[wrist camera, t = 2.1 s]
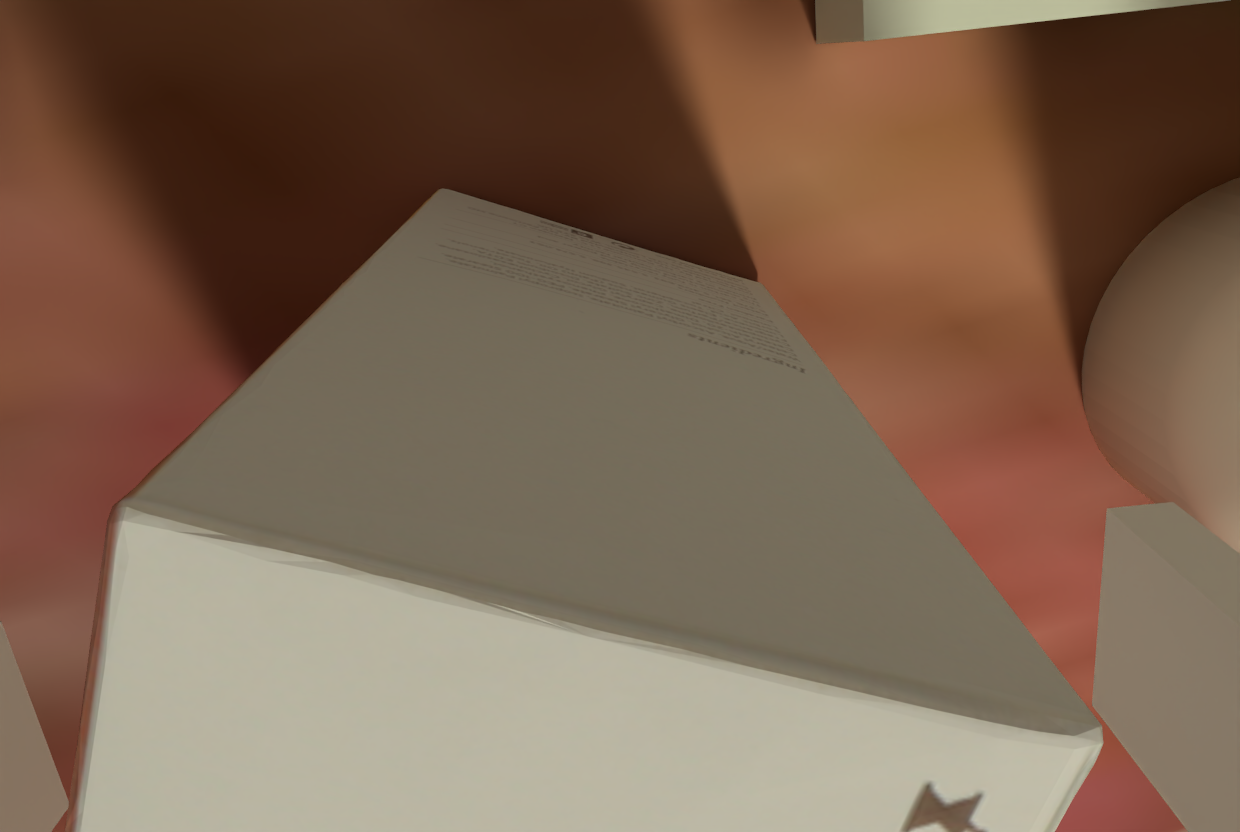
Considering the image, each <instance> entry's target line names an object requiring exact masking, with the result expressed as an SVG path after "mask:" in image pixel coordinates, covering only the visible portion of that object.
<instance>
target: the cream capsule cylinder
mask: <svg viewBox="0 0 1240 832" xmlns="http://www.w3.org/2000/svg"><path fill="white" fill-rule="evenodd" d="M1082 397H1083V403H1084V410H1085V415H1086V418H1087V421H1088V424H1089V428H1090V431H1091V433H1092V435H1093V437H1094V439H1095V441H1096V444H1097V446H1098V448H1099V450H1100V451H1101V452H1102V454H1103V455H1104V457H1105V458H1106V460H1107V461H1108V462H1109V464H1110V465H1111V466H1112V467H1113V468H1114V469H1115V470H1116V471H1117V472H1118V474H1119V475H1120V476H1121V477H1122V478H1123V479H1124V480H1126V481H1127V482H1128V483H1130V484H1131V485H1132V486H1133V487H1135V488H1136V489H1137V490H1139V491H1140V492H1141V493H1142V494H1144V495H1145V496H1146V497H1148V498H1149V499H1150V500H1152V501H1153V502H1154V503H1155V504H1157V503H1167V502H1174V503H1175V504H1176V505H1178V506H1179V507H1180V508H1181V509H1183V510H1184V511H1185V512H1187V513H1188V514H1189V515H1190V516H1192V517H1193V518H1194V519H1196V520H1197V521H1198V522H1199V523H1201V524H1202V525H1203V526H1205V527H1206V528H1207V529H1208V530H1210V531H1211V532H1212V533H1214V534H1215V535H1216V536H1217V537H1219V538H1220V539H1221V540H1223V541H1224V542H1225V543H1227V544H1228V545H1229V546H1230V547H1232V548H1233V549H1234V550H1236V551H1237V552H1238V553H1239V554H1240V177H1239V178H1236V179H1233V180H1231V181H1228V182H1226V183H1224V184H1222V185H1219V186H1217V187H1215V188H1213V189H1210V190H1208V191H1207V192H1205V193H1203V194H1201V195H1200V196H1198V197H1196V198H1195V199H1193V200H1191V201H1189V202H1188V203H1186V204H1185V205H1183V206H1182V207H1181V208H1179V209H1178V210H1176V211H1175V212H1174V213H1172V214H1171V215H1170V216H1168V217H1167V218H1166V219H1164V220H1163V221H1162V222H1161V223H1160V224H1159V225H1158V226H1157V227H1156V228H1155V229H1153V230H1152V231H1151V232H1150V233H1149V234H1148V235H1147V236H1146V237H1145V238H1144V239H1143V240H1142V241H1141V242H1140V243H1139V245H1138V246H1137V247H1136V248H1135V249H1134V250H1133V251H1132V253H1131V254H1130V255H1129V256H1128V257H1127V258H1126V260H1125V261H1124V263H1123V264H1122V266H1121V267H1120V268H1119V270H1118V271H1117V273H1116V274H1115V276H1114V277H1113V278H1112V280H1111V282H1110V284H1109V286H1108V287H1107V289H1106V291H1105V293H1104V295H1103V297H1102V299H1101V300H1100V302H1099V305H1098V307H1097V310H1096V312H1095V315H1094V317H1093V320H1092V322H1091V325H1090V329H1089V333H1088V336H1087V340H1086V344H1085V348H1084V356H1083V363H1082Z"/></svg>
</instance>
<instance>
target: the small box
mask: <svg viewBox="0 0 1240 832" xmlns="http://www.w3.org/2000/svg"><path fill="white" fill-rule="evenodd" d="M1102 745H1103V733H1102V725H1101V724H1100V723H1099V721H1098V720H1097V719H1096V718H1095V716H1094V715H1093V714H1092V712H1091V711H1090V710H1089V709H1088V707H1087V706H1086V705H1085V703H1084V702H1083V701H1082V700H1081V698H1080V697H1079V696H1078V694H1077V693H1076V692H1075V691H1074V689H1073V688H1072V687H1071V685H1070V684H1069V683H1068V682H1067V680H1066V679H1065V678H1064V676H1063V675H1062V674H1061V673H1060V671H1059V670H1058V669H1057V668H1056V666H1055V665H1054V664H1053V662H1052V661H1051V660H1050V659H1049V657H1048V656H1047V655H1046V653H1045V652H1044V651H1043V650H1042V648H1041V647H1040V646H1039V644H1038V643H1037V642H1036V640H1035V639H1034V638H1033V636H1032V635H1031V634H1030V632H1029V631H1028V630H1027V629H1026V627H1025V626H1024V625H1023V623H1022V622H1021V621H1020V619H1019V618H1018V617H1017V615H1016V614H1015V613H1014V612H1013V610H1012V609H1011V608H1010V606H1009V605H1008V604H1007V602H1006V601H1005V600H1004V598H1003V597H1002V596H1001V595H1000V593H999V592H998V591H997V589H996V588H995V587H994V586H993V584H992V583H991V582H990V580H989V579H988V578H987V576H986V575H985V574H984V573H983V571H982V570H981V569H980V567H979V566H978V565H977V563H976V562H975V561H974V560H973V558H972V557H971V556H970V554H969V553H968V552H967V550H966V549H965V548H964V547H963V545H962V544H961V543H960V541H959V540H958V539H957V538H956V536H955V535H954V534H953V532H952V531H951V530H950V528H949V527H948V526H947V525H946V523H945V522H944V521H943V519H942V518H941V517H940V515H939V514H938V513H937V512H936V510H935V509H934V508H933V506H932V505H931V504H930V503H929V501H928V500H927V499H926V497H925V496H924V495H923V493H922V492H921V491H920V489H919V488H918V487H917V486H916V484H915V483H914V482H913V480H912V479H911V478H910V476H909V475H908V474H907V473H906V471H905V470H904V469H903V467H902V466H901V465H900V463H899V462H898V461H897V459H896V458H895V457H894V456H893V454H892V453H891V452H890V450H889V449H888V448H887V446H886V445H885V444H884V442H883V441H882V440H881V439H880V437H879V436H878V435H877V433H876V432H875V431H874V429H873V428H872V427H871V425H870V424H869V423H868V421H867V420H866V419H865V417H864V416H863V415H862V413H861V412H860V411H859V410H858V408H857V407H856V406H855V404H854V403H853V401H852V400H851V399H850V397H849V396H848V395H847V394H846V393H845V391H844V390H843V389H842V387H841V386H840V384H839V383H838V382H837V380H836V379H835V378H834V376H833V375H832V374H831V372H830V371H829V370H828V368H827V367H826V366H825V364H824V363H823V362H822V360H821V359H820V358H819V356H818V355H817V354H816V352H815V351H814V350H813V349H812V347H811V346H810V345H809V343H808V342H807V341H806V340H805V338H804V337H803V336H802V335H801V333H800V332H799V331H798V330H797V328H796V327H795V325H794V324H793V323H792V321H791V320H790V319H789V318H788V317H787V316H786V314H785V313H784V312H783V310H782V309H781V308H780V306H779V305H778V304H777V302H776V301H775V300H774V299H773V297H772V296H771V295H770V293H769V292H768V291H767V290H766V288H765V287H764V285H762V284H761V283H759V282H755V281H752V280H748V279H745V278H741V277H738V276H734V275H730V274H727V273H724V272H721V271H718V270H714V269H710V268H707V267H703V266H700V265H696V264H693V263H690V262H686V261H683V260H680V259H677V258H674V257H671V256H667V255H663V254H660V253H656V252H653V251H649V250H646V249H643V248H639V247H636V246H633V245H630V244H626V243H623V242H620V241H617V240H613V239H610V238H607V237H603V236H600V235H597V234H594V233H590V232H587V231H584V230H580V229H577V228H574V227H571V226H567V225H564V224H561V223H557V222H554V221H551V220H548V219H544V218H541V217H538V216H535V215H532V214H528V213H525V212H522V211H519V210H516V209H512V208H509V207H506V206H502V205H499V204H495V203H492V202H489V201H485V200H482V199H478V198H475V197H472V196H469V195H466V194H462V193H459V192H456V191H453V190H449V189H443V188H442V189H439V190H437V191H436V192H435V193H434V194H433V195H432V196H431V197H430V198H429V199H428V200H427V201H426V202H425V203H423V205H422V206H421V207H420V208H419V209H418V210H417V211H416V212H415V213H414V214H413V215H412V216H411V217H410V218H409V219H408V220H407V221H406V222H405V223H404V224H403V225H402V226H401V227H400V228H399V229H398V230H397V231H396V232H395V233H394V234H393V235H392V236H391V237H390V238H389V239H388V240H387V241H386V242H385V243H384V244H383V245H382V246H381V247H380V248H379V249H378V250H377V251H376V252H375V253H374V254H373V255H372V256H371V257H370V258H369V259H368V260H367V261H366V262H364V263H363V264H362V265H361V266H360V267H359V268H358V269H357V270H356V271H355V272H354V273H353V274H352V275H351V276H350V277H349V278H348V279H347V280H346V281H345V282H343V283H342V284H341V286H340V287H339V288H338V289H337V290H336V291H335V292H334V293H333V294H332V295H331V296H330V297H329V298H328V299H327V300H326V301H325V302H324V303H323V304H322V305H321V306H320V307H319V308H318V309H317V310H316V311H315V312H314V313H313V314H312V315H311V316H310V317H308V318H307V319H306V320H305V321H304V322H303V323H302V324H301V325H300V326H299V327H298V328H297V329H296V330H295V331H294V332H293V333H292V334H291V335H290V336H289V337H288V338H287V339H286V340H285V341H284V342H283V343H282V344H281V345H280V346H279V347H278V348H277V349H276V350H275V351H274V352H273V353H272V354H271V355H270V356H269V357H268V358H267V359H266V360H265V361H264V362H263V363H262V364H261V365H260V366H259V367H258V368H257V369H256V370H255V371H254V372H253V373H252V374H251V375H250V376H249V377H248V378H247V379H246V380H245V381H244V382H243V383H242V384H241V385H240V386H239V387H238V388H237V389H236V390H235V391H234V392H233V393H232V394H231V395H230V396H229V397H228V398H227V399H226V400H225V401H224V402H223V403H222V404H221V405H220V406H219V407H218V408H217V409H216V410H215V411H213V412H212V413H211V414H210V415H209V416H208V417H207V418H206V419H205V420H204V421H203V422H202V423H201V424H200V425H199V426H198V427H197V428H196V429H195V430H194V431H193V432H192V433H191V434H190V435H189V436H188V437H187V438H186V439H185V440H184V441H183V442H181V443H180V444H179V445H178V446H177V447H176V448H175V449H174V450H173V451H172V452H171V453H170V454H169V455H167V456H166V457H165V458H164V459H163V460H162V461H161V462H160V463H159V464H158V465H157V466H155V467H154V468H153V469H152V470H151V471H150V472H149V473H148V474H147V475H146V477H145V478H144V479H143V480H142V481H141V482H140V483H139V484H138V485H137V486H136V487H135V488H134V489H133V490H132V491H130V492H129V493H128V494H127V495H126V496H124V497H123V498H122V499H121V500H120V501H118V502H117V503H116V504H115V505H114V506H113V507H112V509H111V512H110V515H109V518H108V520H107V528H106V535H105V542H104V549H103V556H102V563H101V571H100V578H99V585H98V592H97V599H96V606H95V614H94V621H93V628H92V635H91V643H90V650H89V658H88V666H87V673H86V681H85V689H84V696H83V704H82V712H81V719H80V727H79V735H78V742H77V749H76V756H75V763H74V770H73V776H72V784H71V791H70V799H69V806H68V814H67V821H66V829H65V832H1055V830H1056V828H1057V827H1058V825H1059V823H1060V821H1061V819H1062V818H1063V816H1064V814H1065V812H1066V810H1067V809H1068V807H1069V805H1070V803H1071V801H1072V800H1073V798H1074V796H1075V794H1076V793H1077V791H1078V789H1079V788H1080V786H1081V785H1082V783H1083V781H1084V780H1085V778H1086V777H1087V775H1088V773H1089V772H1090V770H1091V768H1092V767H1093V765H1094V763H1095V761H1096V759H1097V757H1098V755H1099V752H1100V750H1101V748H1102Z"/></svg>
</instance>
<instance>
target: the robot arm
mask: <svg viewBox="0 0 1240 832" xmlns="http://www.w3.org/2000/svg"><path fill="white" fill-rule="evenodd" d="M1092 706H1093V707H1094V708H1095V710H1096V711H1097V712H1098V714H1099V715H1100V716H1101V717H1102V719H1103V720H1104V721H1105V723H1106V724H1107V725H1108V727H1109V728H1110V729H1111V731H1112V732H1113V733H1114V735H1115V736H1116V737H1117V739H1118V740H1119V741H1120V743H1121V744H1122V745H1123V746H1124V748H1125V749H1126V750H1127V752H1128V753H1129V754H1130V756H1131V757H1132V758H1133V760H1134V761H1135V762H1136V764H1137V765H1138V766H1139V768H1140V769H1141V770H1142V771H1143V773H1144V774H1145V775H1146V777H1147V778H1148V779H1149V781H1150V782H1151V783H1152V785H1153V786H1154V787H1155V789H1156V790H1157V791H1158V793H1159V794H1160V795H1161V796H1162V798H1163V799H1164V800H1165V802H1166V803H1167V804H1168V806H1169V807H1170V808H1171V810H1172V811H1173V812H1174V814H1175V815H1176V816H1177V818H1178V819H1179V820H1180V821H1181V823H1182V824H1183V825H1184V827H1185V828H1186V829H1187V831H1188V832H1240V554H1239V553H1238V552H1237V551H1236V550H1234V549H1233V548H1232V547H1230V546H1229V545H1228V544H1227V543H1225V542H1224V541H1223V540H1221V539H1220V538H1219V537H1217V536H1216V535H1215V534H1214V533H1212V532H1211V531H1210V530H1208V529H1207V528H1206V527H1205V526H1203V525H1202V524H1201V523H1199V522H1198V521H1197V520H1196V519H1194V518H1193V517H1192V516H1190V515H1189V514H1188V513H1187V512H1185V511H1184V510H1183V509H1181V508H1180V507H1179V506H1178V505H1176V504H1175V503H1174V502H1167V503H1157V504H1147V505H1138V506H1128V507H1118V508H1108V509H1107V514H1106V527H1105V541H1104V554H1103V567H1102V580H1101V594H1100V607H1099V620H1098V634H1097V647H1096V660H1095V673H1094V687H1093V700H1092ZM68 806H69V802H68V799H67V796H66V794H65V791H64V788H63V786H62V783H61V780H60V778H59V775H58V772H57V769H56V767H55V764H54V761H53V759H52V756H51V753H50V751H49V748H48V745H47V743H46V740H45V737H44V735H43V732H42V729H41V727H40V724H39V721H38V719H37V716H36V713H35V711H34V708H33V705H32V703H31V700H30V697H29V695H28V692H27V689H26V686H25V684H24V681H23V678H22V676H21V673H20V670H19V668H18V665H17V662H16V660H15V657H14V654H13V652H12V649H11V646H10V644H9V641H8V638H7V636H6V633H5V630H4V628H3V625H2V622H1V621H0V832H51V831H52V830H53V828H54V827H55V826H56V824H57V823H58V821H59V820H60V819H61V817H62V816H63V814H64V813H65V811H66V810H67V809H68Z"/></svg>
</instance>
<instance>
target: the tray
mask: <svg viewBox="0 0 1240 832" xmlns="http://www.w3.org/2000/svg"><path fill="white" fill-rule="evenodd" d="M1220 1H1229V0H815V16H816V44H821V43H838V42H856V41H869V40H878V39H887V38H896V37H905V36H914V35H923V34H932V33H941V32H950V31H959V30H968V29H977V28H986V27H995V26H1004V25H1013V24H1022V23H1031V22H1040V21H1049V20H1058V19H1067V18H1076V17H1085V16H1094V15H1103V14H1112V13H1121V12H1130V11H1139V10H1148V9H1157V8H1166V7H1175V6H1184V5H1193V4H1202V3H1211V2H1220Z"/></svg>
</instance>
